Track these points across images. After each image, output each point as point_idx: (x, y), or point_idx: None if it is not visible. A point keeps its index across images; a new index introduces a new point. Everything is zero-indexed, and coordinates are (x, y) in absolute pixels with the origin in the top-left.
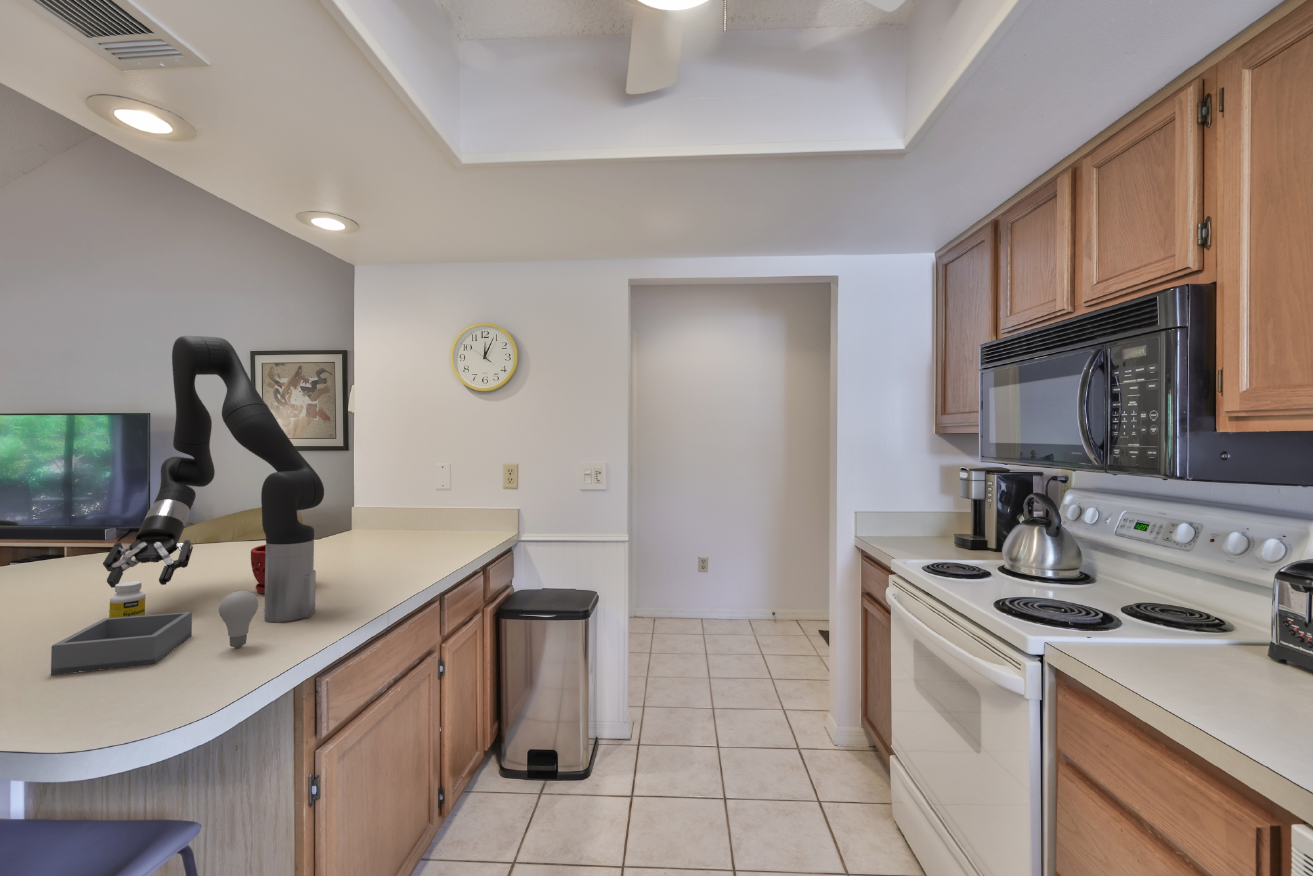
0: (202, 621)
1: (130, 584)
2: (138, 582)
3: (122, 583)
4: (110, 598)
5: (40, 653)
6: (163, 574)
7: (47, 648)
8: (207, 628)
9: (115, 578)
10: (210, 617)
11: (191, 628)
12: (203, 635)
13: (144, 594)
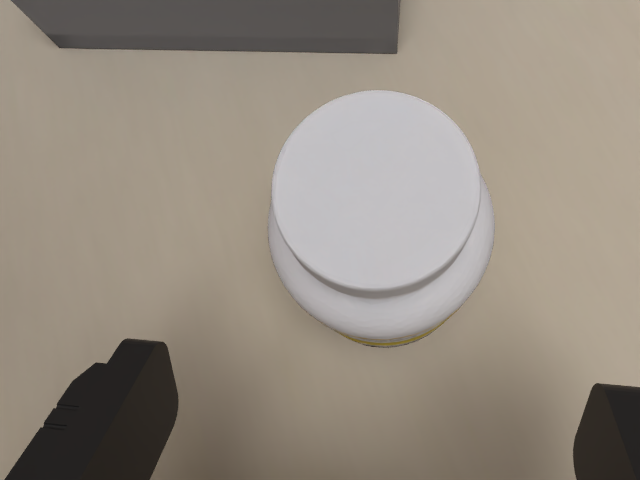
0: (52, 297)
1: (337, 131)
2: (295, 207)
3: (436, 211)
4: (483, 179)
5: (616, 6)
6: (106, 385)
7: (630, 74)
8: (14, 151)
9: (613, 454)
10: (25, 369)
11: (36, 20)
12: (16, 45)
13: (268, 232)
